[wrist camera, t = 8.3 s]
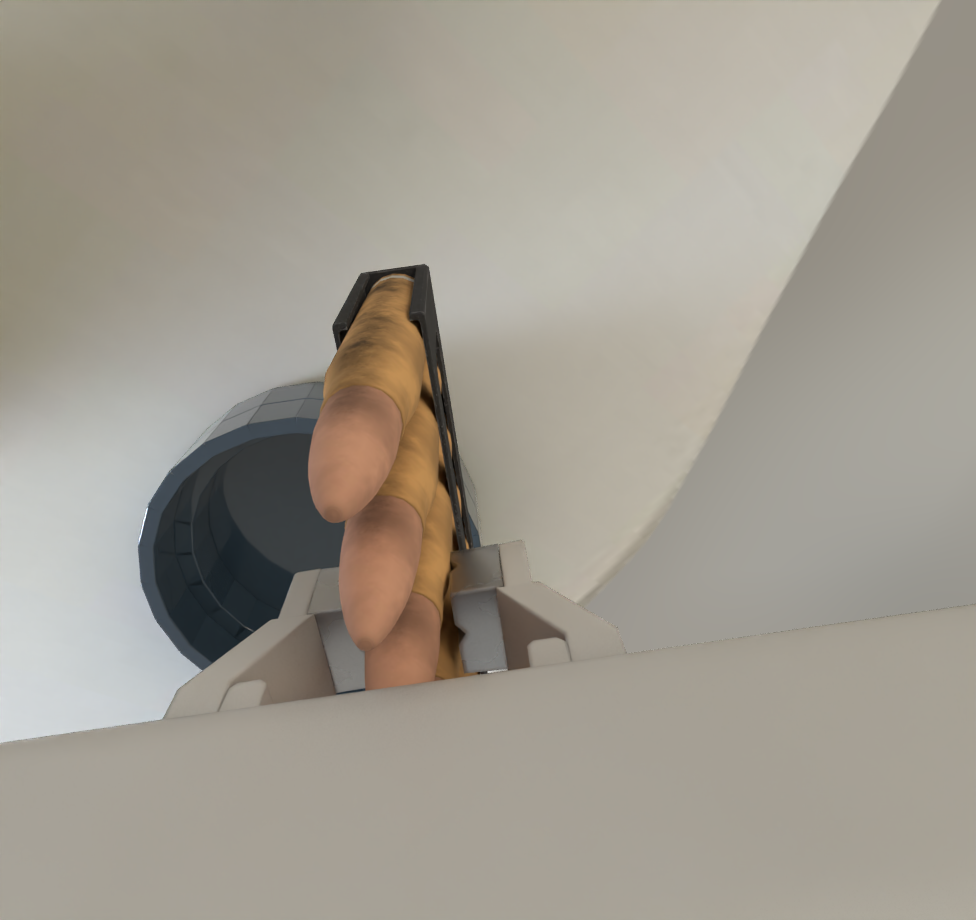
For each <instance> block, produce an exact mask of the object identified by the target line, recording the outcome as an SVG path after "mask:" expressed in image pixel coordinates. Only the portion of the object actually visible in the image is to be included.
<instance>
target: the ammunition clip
mask: <svg viewBox="0 0 976 920" xmlns="http://www.w3.org/2000/svg"><path fill="white" fill-rule="evenodd" d="M332 329H333V334H334V338H335V343H336V347H337V353H336V355H335V357H334V358H333V360H332V362H331V364H330V366H329V368H328V370H327V372H326V375H325V381H324V388H323V397H324V400H323V403H322V406H321V408H320V416H319V418H318V421H317V423H316V425H315V428H314V431H313V435H312V441H311V446H310V453H309V461H308V479H309V485H310V491H311V495H312V499H313V502H314V504H315V507H316V509H317V510H318V511H319V513H320V514H321V516H322V517H323V518H324V519H325V520H327V521H328V522H331V523H339V522H342V521H345V520H346V522H345V532H344V537H343V541H342V547H341V553H340V564H339V594H340V602H341V607H342V612H343V618H344V621H345V624H346V627H347V630H348V633H349V635H350V637H351V639H352V640H353V642H354V643H355V645H356V646H357V647H358V648H359V649H360V650H362V651H365V690H366V691H367V690H374V689H381V688H388V687H396V686H403V685H410V684H417V683H424V682H431V681H438V680H445V679H452V678H459V677H466V676H473V675H480V674H487V671H483V672H474V673H465V674H464V670H463V664H462V659H461V654H460V649H459V639H458V627H457V626H456V625H455V622H454V616H453V610H452V604H451V598H450V584H449V573H450V572H451V565H450V552H453V551H459V550H465V549H471V548H474V545H473V539H472V533H471V527H470V520H469V514H468V508H467V502H466V495H465V489H464V483H463V477H462V471H461V464H460V458H459V452H458V446H457V439H456V433H455V427H454V421H453V415H452V408H451V402H450V396H449V390H448V383H447V377H446V371H445V365H444V359H443V352H442V346H441V340H440V334H439V327H438V321H437V315H436V309H435V303H434V296H433V290H432V284H431V278H430V271H429V267H428V266H427V265H425V264H422V265H415V266H408V267H401V268H394V269H387V270H380V271H373V272H365V273H361V274H360V275H359V277H358V279H357V281H356V283H355V285H354V287H353V288H352V290H351V292H350V294H349V296H348V298H347V300H346V301H345V303H344V305H343V307H342V309H341V311H340V313H339V314H338V316H337V318H336V320H335V322H334V324H333V327H332Z"/></svg>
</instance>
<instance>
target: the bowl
mask: <svg viewBox="0 0 976 920" xmlns="http://www.w3.org/2000/svg"><path fill="white" fill-rule="evenodd" d="M323 388H324V383H323V382H311V383H305V384H298V385H291V386H284V387H277V388H274V389H271V390H268V391H266V392H264V393H262V394H259V395H257V396H255V397H252V398H250V399H248V400H245V401H243V402H241V403H238V404H237V405H235V406H234V407H233V408H231V409H230V410H229V411H228V412H227V413H225V414H224V415H223V416H222V417H221V418H219V419H218V420H217V421H216V422H215V423H213V424H212V425H211V426H210V427H209V428H207V429H206V431H205V432H204V433H203V434H202V435H201V436H200V437H199V438H198V440H197V441H196V442H195V443H194V444H193V445H192V446H191V447H190V449H189V450H188V451H187V452H186V453H185V454H184V455H183V456H182V458H181V459H180V460H179V461H178V462H177V463H176V464H175V466H174V467H173V468H172V469H171V470H170V471H169V473H168V474H167V476H166V477H165V479H164V480H163V482H162V483H161V485H160V487H159V488H158V490H157V491H156V493H155V494H154V496H153V497H152V499H151V501H150V502H149V504H148V506H147V509H146V513H145V517H144V521H143V525H142V529H141V533H140V537H139V541H138V553H139V566H140V579H141V586H142V588H143V591H144V593H145V596H146V598H147V601H148V603H149V606H150V608H151V611H152V613H153V616H154V618H155V620H156V621H157V623H158V624H159V625H160V627H161V628H162V629H163V631H164V632H165V633H166V635H167V636H168V637H169V638H170V640H171V641H172V642H173V644H174V645H175V646H176V648H177V649H178V650H179V651H181V654H183V655H184V656H185V657H186V658H188V659H189V660H190V661H191V662H193V663H194V664H195V665H196V666H197V667H199V668H200V669H201V670H202V671H203V670H204V669H206V668H207V667H208V666H210V665H211V664H212V663H214V662H215V661H216V660H218V659H219V658H220V657H222V656H223V655H224V654H226V653H227V652H228V651H230V650H231V649H232V648H234V647H235V646H236V645H238V644H239V643H240V642H242V641H243V640H244V639H246V638H247V637H249V636H250V635H251V634H253V633H254V632H255V631H257V630H258V629H259V628H261V627H262V626H263V625H265V624H266V623H267V622H269V621H270V620H273V619H278V617H279V615H280V612H281V609H282V607H283V604H284V601H285V599H286V596H287V593H288V591H289V588H290V585H291V582H292V580H293V577H294V575H295V574H296V573H298V572H303V571H309V570H315V569H324V568H333V567H339V564H340V553H341V547H342V541H343V537H344V532H345V522H346V520H345V521H342V522H339V523H331V522H328V521H327V520H325V519H324V518H323V517H322V516H321V514H320V513H319V511H318V510H317V509H316V507H315V504H314V502H313V499H312V495H311V491H310V485H309V479H308V461H309V453H310V446H311V441H312V435H313V431H314V428H315V425H316V423H317V421H318V418H319V416H320V408H321V406H322V403H323V400H324V397H323ZM459 458H460V464H461V471H462V477H463V483H464V489H465V495H466V502H467V508H468V514H469V520H470V527H471V533H472V539H473V545H474V548H477V547H483V546H482V537H481V527H480V518H479V511H478V505H477V499H476V492H475V487H474V484H473V482H472V480H471V478H470V476H469V474H468V472H467V469H466V467H465V465H464V463H463V461H462V459H461V457H460V455H459ZM360 691H366V690H365V688H363V689H357V690H351V691H345V692H339V693H336V695H339V694H346V693H353V692H360Z"/></svg>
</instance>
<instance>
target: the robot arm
mask: <svg viewBox="0 0 976 920" xmlns="http://www.w3.org/2000/svg"><path fill="white" fill-rule="evenodd" d="M499 555H500V556H499ZM500 562H501V563H500ZM450 565H451V572H450V573H449V584H450V598H451V604H452V610H453V616H454V622H455V625H456V626H457V627H458V639H459V649H460V654H461V659H462V664H463V670H464V674H465V673H474V672H483V671H491V670H500V669H508V671H501V672H494V673H487V674H480V675H473V676H466V677H459V678H452V679H445V680H438V681H431V682H424V683H417V684H410V685H403V686H396V687H388V688H381V689H374V690H367V691H360V692H353V693H346V694H339V695H336V693H339V692H345V691H351V690H357V689H363V688H365V651H362V650H360V649H359V648H358V647H357V646H356V645H355V643H354V642H353V640H352V639H351V637H350V635H349V633H348V630H347V627H346V624H345V621H344V618H343V612H342V607H341V602H340V594H339V567H333V568H324V569H315V570H309V571H303V572H298V573H296V574H295V575H294V577H293V580H292V582H291V585H290V588H289V591H288V593H287V596H286V599H285V601H284V604H283V607H282V609H281V612H280V615H279V617H278V619H273V620H270V621H269V622H267V623H266V624H265V625H263V626H262V627H261V628H259V629H258V630H257V631H255V632H254V633H253V634H251V635H250V636H249V637H247V638H246V639H244V640H243V641H242V642H240V643H239V644H238V645H236V646H235V647H234V648H232V649H231V650H230V651H228V652H227V653H226V654H224V655H223V656H222V657H220V658H219V659H218V660H216V661H215V662H214V663H212V664H211V665H210V666H208V667H207V668H206V669H204V670H203V671H202V672H200V673H199V674H198V675H196V676H195V677H194V678H192V679H191V680H190V681H188V682H187V683H186V684H184V685H183V686H182V687H180V688H179V689H178V690H177V692H176V694H175V696H174V698H173V700H172V702H171V704H170V706H169V708H168V710H167V712H166V713H165V715H164V717H163V719H162V720H156V721H149V722H142V723H135V724H128V725H121V726H114V727H107V728H100V729H93V730H87V731H80V732H73V733H66V734H59V735H52V736H45V737H38V738H31V739H24V740H17V741H10V742H3V743H0V920H976V604H972V605H964V606H957V607H950V608H943V609H936V610H929V611H922V612H915V613H908V614H901V615H894V616H887V617H880V618H873V619H865V620H859V621H852V622H845V623H838V624H830V625H824V626H816V627H809V628H802V629H796V630H788V631H781V632H774V633H768V634H761V635H754V636H747V637H739V638H732V639H726V640H719V641H711V642H704V643H697V644H691V645H683V646H676V647H669V648H662V649H655V650H648V651H641V652H634V653H626V650H625V647H624V645H623V642H622V639H621V637H620V634H619V631H618V629H617V627H616V626H614V625H612V624H610V623H609V622H607V621H605V620H603V619H602V618H600V617H599V616H597V615H595V614H593V613H592V612H590V611H588V610H587V609H585V608H583V607H582V606H580V605H578V604H576V603H575V602H573V601H571V600H570V599H568V598H566V597H565V596H563V595H561V594H559V593H558V592H556V591H554V590H553V589H551V588H549V587H547V586H546V585H544V584H542V583H541V582H532V578H531V573H530V568H529V563H528V559H527V554H526V549H525V544H524V541H523V540H518V541H513V542H507V543H502V544H499V549H498V544H495V545H489V546H483V547H477V548H471V549H465V550H459V551H453V552H450ZM501 569H502V570H501ZM502 576H503V577H502Z"/></svg>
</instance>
